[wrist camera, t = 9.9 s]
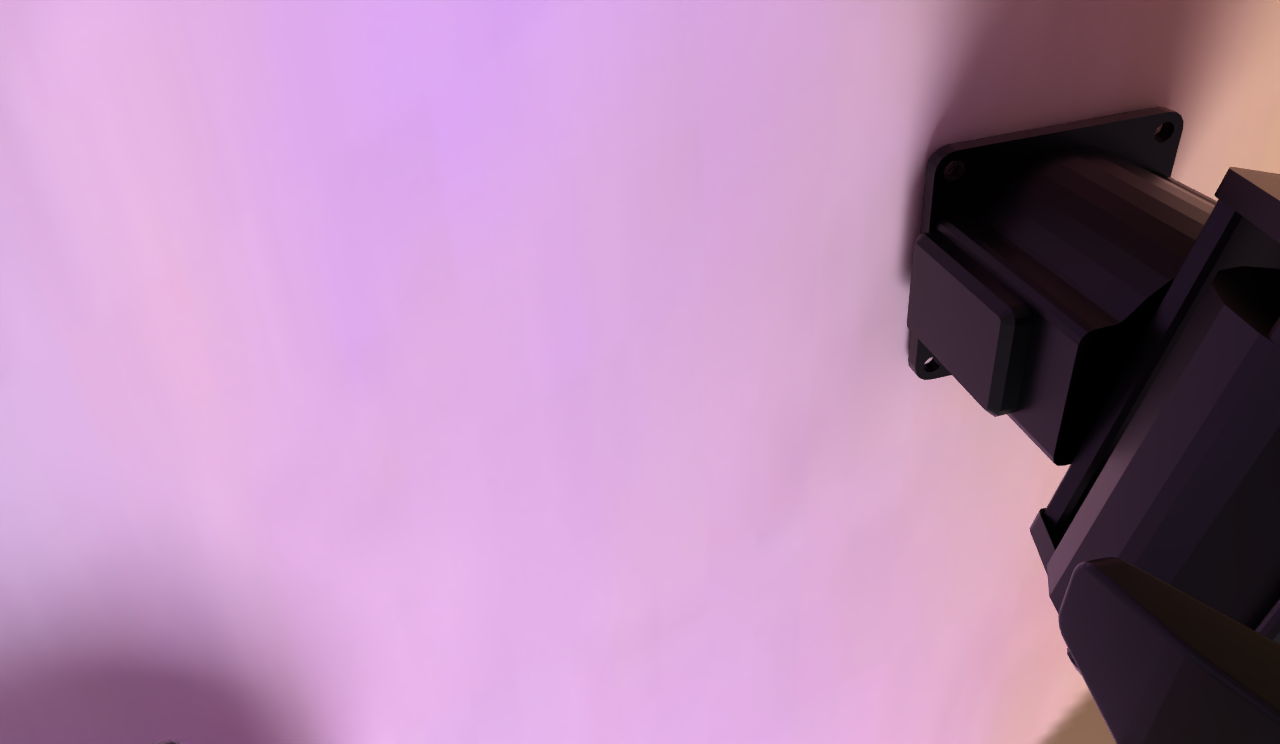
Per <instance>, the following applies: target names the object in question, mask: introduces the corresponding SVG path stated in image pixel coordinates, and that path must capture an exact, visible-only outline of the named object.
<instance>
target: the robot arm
mask: <svg viewBox="0 0 1280 744" xmlns="http://www.w3.org/2000/svg"><path fill="white" fill-rule="evenodd" d="M1161 124H1162V127H1161V130H1160V131H1159V132H1158V133H1157V134H1156V135H1155V132H1156V130H1157V128H1158V127H1159V126H1160V125H1161ZM1182 130H1183V119H1182V117H1181V115H1180V114H1178V113H1177V112H1175V111H1172V110H1170V109H1168V108H1165V107H1155V108H1149V109H1144V110H1138V111H1133V112H1127V113H1121V114H1116V115H1110V116H1105V117H1099V118H1094V119H1088V120H1083V121H1077V122H1071V123H1066V124H1060V125H1055V126H1049V127H1044V128H1038V129H1033V130H1027V131H1022V132H1016V133H1010V134H1005V135H999V136H994V137H988V138H983V139H977V140H972V141H966V142H960V143H955V144H949V145H946V146H943V147H941V148H939V149H938V150H937V151H936V152H934V153H933V155H932V156H931V158H930V159H929V161H928V164H927V168H926V177H925V187H924V198H923V208H922V219H921V230H920V235H919V237H918V238H917V240H916V242H915V244H914V250H913V262H912V273H911V284H910V295H909V306H908V317H907V326H908V328H909V329H910V330H911V336H910V347H909V357H908V362H909V366H910V368H911V369H912V370H913V371H914V372H915V374H916V375H917V376H918V377H919V378H921V379H924V380H929V379H935V378H940V377H944V376H949V375H953V376H954V377H955V378H956V380H957V381H958V382H959V383H960V384H961V385H962V386H963V387H964V388H965V389H966V390H967V391H968V392H969V393H970V395H971V396H972V397H973V398H974V399H975V400H976V401H977V402H978V403H979V404H980V405H981V406H982V407H983V408H984V409H985V410H986V411H987V412H989V413H990V414H991V415H993V416H995V417H996V416H1001V415H1005V414H1007V415H1008V416H1009V417H1010V418H1011V419H1012V420H1013V421H1014V422H1015V423H1016V424H1017V425H1018V426H1019V427H1020V428H1021V429H1022V430H1023V431H1024V432H1025V433H1026V434H1027V436H1028V437H1029V438H1030V439H1031V440H1032V441H1033V442H1034V443H1035V444H1036V445H1037V446H1038V447H1039V448H1040V449H1041V450H1042V451H1043V452H1044V453H1045V454H1046V455H1047V456H1048V457H1049V458H1050V459H1051V460H1052V461H1053V463H1055V464H1056V465H1057V466H1064V465H1068V464H1071V465H1070V467H1069V468H1068V470H1067V472H1066V474H1065V476H1064V477H1063V479H1062V481H1061V483H1060V485H1059V486H1058V488H1057V490H1056V492H1055V494H1054V495H1053V497H1052V499H1051V501H1050V503H1049V504H1048V506H1047V508H1043V509H1041V510H1040V511H1039V513H1038V514H1037V516H1036V518H1035V520H1034V522H1033V523H1032V525H1031V527H1030V532H1031V535H1032V537H1033V540H1034V542H1035V545H1036V547H1037V550H1038V552H1039V555H1040V557H1041V560H1042V562H1043V565H1044V568H1045V570H1046V573H1047V575H1048V584H1049V596H1050V598H1051V600H1052V602H1053V604H1054V606H1055V608H1056V610H1057V612H1058V614H1059V627H1060V630H1061V634H1062V636H1063V639H1064V641H1065V643H1066V645H1067V647H1068V648H1067V654H1068V656H1069V658H1070V660H1071V662H1072V663H1073V665H1074V667H1075V668H1076V670H1077V671H1078V672H1079V673H1080V674H1081V675H1082V676H1083V678H1084V680H1085V682H1086V684H1087V686H1088V688H1089V690H1090V692H1091V694H1092V696H1093V698H1094V700H1095V702H1096V704H1097V706H1098V708H1099V710H1100V712H1101V714H1102V716H1103V718H1104V720H1105V722H1106V724H1107V726H1108V728H1109V730H1110V732H1111V734H1112V736H1113V738H1114V740H1115V742H1116V744H1280V174H1275V173H1268V172H1262V171H1255V170H1249V169H1242V168H1235V167H1230V168H1229V169H1228V171H1227V173H1226V175H1225V177H1224V179H1223V180H1222V182H1221V184H1220V186H1219V188H1218V189H1217V191H1216V193H1215V196H1216V197H1217V198H1218V199H1219V200H1218V201H1215V200H1213V199H1211V198H1209V197H1208V196H1206V195H1204V194H1202V193H1200V192H1198V191H1196V190H1194V189H1192V188H1190V187H1188V186H1186V185H1184V184H1182V183H1180V182H1178V181H1176V180H1174V179H1172V178H1170V176H1171V172H1172V169H1173V165H1174V161H1175V157H1176V153H1177V149H1178V145H1179V142H1180V138H1181V134H1182ZM953 161H956V164H955V167H954V169H953V170H952V171H951V172H950V173H949V174H947V175H944V171H945V169H946V167H947V166H948V165H949V163H951V162H953ZM931 357H933V359H932V360H931V361H930V362H929V363H927V364H925V362H926V361H927V360H928V359H929V358H931ZM154 744H182V743H180V742H178V741H176V740H169V741H164V742H159V743H154Z"/></svg>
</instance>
